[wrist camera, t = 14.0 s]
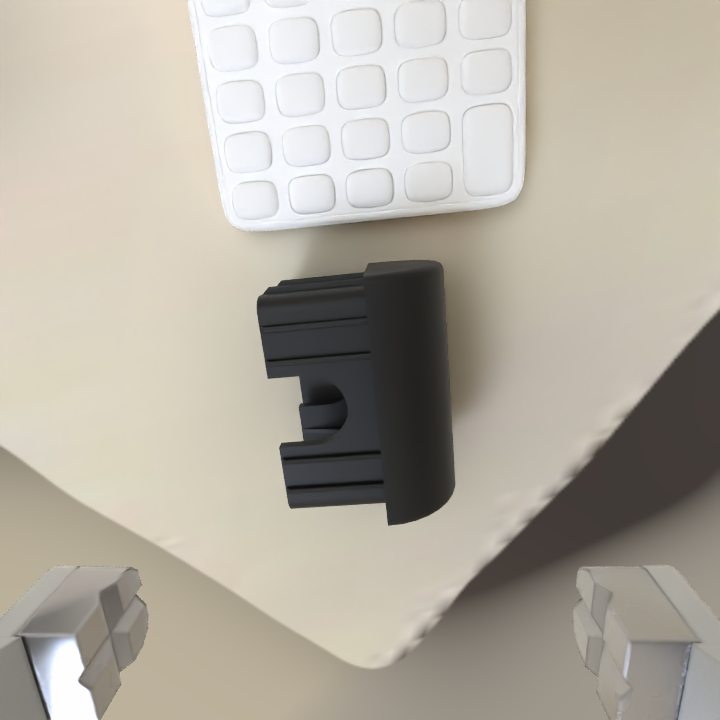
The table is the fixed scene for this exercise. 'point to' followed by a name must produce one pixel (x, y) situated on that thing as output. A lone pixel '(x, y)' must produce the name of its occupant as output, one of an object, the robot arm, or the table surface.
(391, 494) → the end cap
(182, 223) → the table surface
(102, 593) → the robot arm
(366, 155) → the calculator
